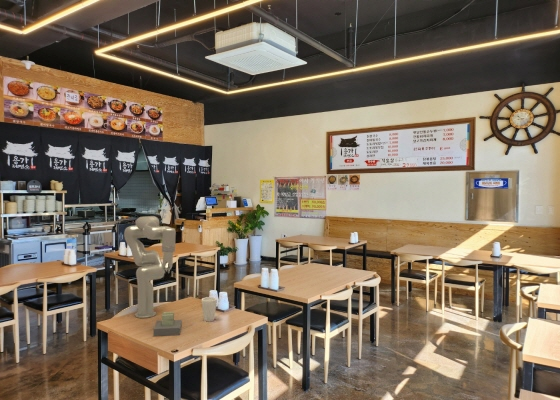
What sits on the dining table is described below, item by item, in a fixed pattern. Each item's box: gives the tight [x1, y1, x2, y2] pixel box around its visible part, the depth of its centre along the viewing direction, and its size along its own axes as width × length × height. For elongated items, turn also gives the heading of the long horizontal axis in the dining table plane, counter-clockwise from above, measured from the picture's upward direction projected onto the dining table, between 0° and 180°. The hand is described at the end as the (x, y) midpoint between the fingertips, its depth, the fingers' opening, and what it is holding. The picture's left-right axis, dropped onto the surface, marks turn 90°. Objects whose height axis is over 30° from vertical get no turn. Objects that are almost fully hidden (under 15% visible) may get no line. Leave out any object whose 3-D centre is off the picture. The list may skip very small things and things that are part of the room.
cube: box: [161, 311, 175, 326], centre depth 225 cm, size 6×6×6 cm
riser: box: [153, 319, 182, 337], centre depth 225 cm, size 14×14×4 cm
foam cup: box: [201, 296, 218, 323], centre depth 246 cm, size 10×9×13 cm
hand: (167, 278), depth 233 cm, fingers open, 9 cm apart
